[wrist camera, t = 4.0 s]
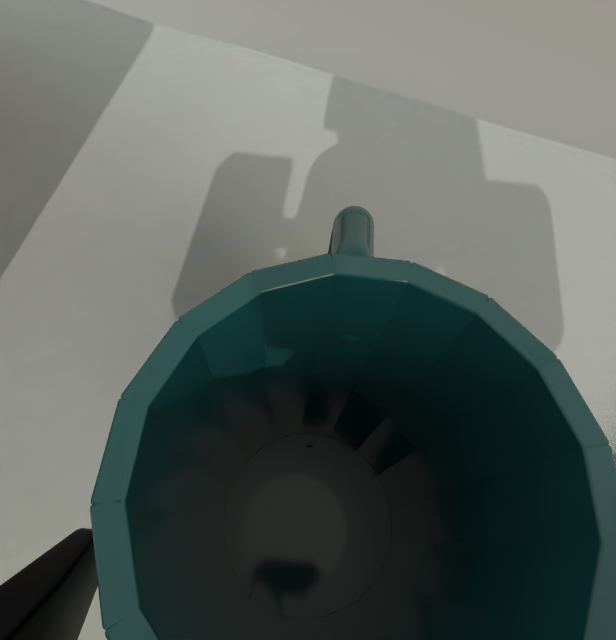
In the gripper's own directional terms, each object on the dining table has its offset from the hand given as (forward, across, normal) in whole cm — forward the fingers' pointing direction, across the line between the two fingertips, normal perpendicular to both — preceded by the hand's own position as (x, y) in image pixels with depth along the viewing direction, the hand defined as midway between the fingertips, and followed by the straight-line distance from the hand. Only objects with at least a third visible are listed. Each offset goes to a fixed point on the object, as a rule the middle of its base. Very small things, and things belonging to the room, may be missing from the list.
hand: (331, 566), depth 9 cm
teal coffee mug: (+8, 0, +4) cm, 9 cm away
